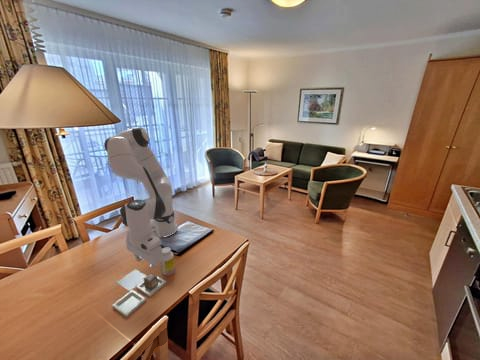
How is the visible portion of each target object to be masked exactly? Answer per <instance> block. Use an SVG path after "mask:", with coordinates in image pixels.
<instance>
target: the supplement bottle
mask: <svg viewBox="0 0 480 360" xmlns="http://www.w3.org/2000/svg"><path fill="white" fill-rule="evenodd" d="M162 253H163V260H162V261H161V262H160V263H159V264H160V270H161V271H160V272H161V274H163V275H164V276H169V275H171V274H173V273H174V272H175V271H176V266H175V265H176V264H175V263H176V262H175V256H174V252H172V249H171V248H170V247H169V246H165V247H163V248H162Z"/></svg>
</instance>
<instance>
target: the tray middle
mask: <svg viewBox="0 0 480 360" xmlns="http://www.w3.org/2000/svg"><path fill="white" fill-rule="evenodd" d="M156 276H157V281H158V285H157V286H156V287H155V288H153V289H152V290H149V289H148V288H146V287H145V284H144V281H142V282H141V283H140V284H138V285H137V286H136V287H135V288H136V289H137V290H138V291H140V292H142V293H143V294H145V295H146V296H148V297H149V298H151V297H152V296H153V295H154V294H155V293H156V292H157V291H159V289H161V288H162V287H163V286H165V285H166V284H167V282H166V281H167V280H164V279H163V278H161V277H159V276H158V275H156Z"/></svg>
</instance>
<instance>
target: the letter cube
mask: <svg viewBox="0 0 480 360" xmlns="http://www.w3.org/2000/svg"><path fill="white" fill-rule="evenodd" d="M157 276H158V275H156V274H155V273H152V272H150V273H149V274H147V275H146V277H145V278H144V284H145V287H146V288H148V289H149V290H152V289H153V288H155V287H156V286H157V285H158V281H157Z"/></svg>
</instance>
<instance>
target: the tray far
mask: <svg viewBox="0 0 480 360" xmlns="http://www.w3.org/2000/svg"><path fill="white" fill-rule="evenodd" d="M146 301H147V300H146V297H145V296H143V295H142V294H140V293H138V292H137V291H135V290H134V289H132V290H131V291H129V292H127V293H126V294H125V295H123V296H122V297H121V298H119V299H118V300H117V301H116V302H114V303H113V304H112V308H113V309H115V310H116V311H117V312H119V313H120V314H121V315H122V316H124V317H125V318H127V317H129V316H130V315H131V314H132V313H133V312H134V311H136V310H137V309H138V308H139V307H140V306H141V305H143V303H145V302H146Z"/></svg>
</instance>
